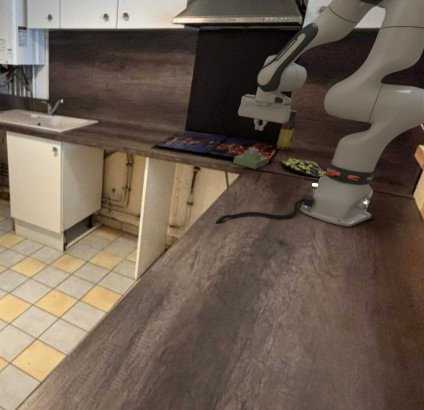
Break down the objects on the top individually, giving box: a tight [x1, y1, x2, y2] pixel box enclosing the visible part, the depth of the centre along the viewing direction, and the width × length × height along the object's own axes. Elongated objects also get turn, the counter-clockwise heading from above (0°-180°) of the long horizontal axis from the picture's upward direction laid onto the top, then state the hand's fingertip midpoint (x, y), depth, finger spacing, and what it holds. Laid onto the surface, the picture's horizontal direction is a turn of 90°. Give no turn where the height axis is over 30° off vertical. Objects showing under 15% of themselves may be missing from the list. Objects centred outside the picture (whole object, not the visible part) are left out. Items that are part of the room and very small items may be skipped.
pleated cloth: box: [281, 157, 327, 178], centre depth 155 cm, size 20×16×7 cm
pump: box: [247, 147, 260, 154], centre depth 157 cm, size 4×4×2 cm
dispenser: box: [232, 150, 269, 170], centre depth 159 cm, size 12×10×5 cm
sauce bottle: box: [276, 109, 298, 151], centre depth 184 cm, size 7×6×20 cm
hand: (258, 130), depth 153 cm, fingers closed
